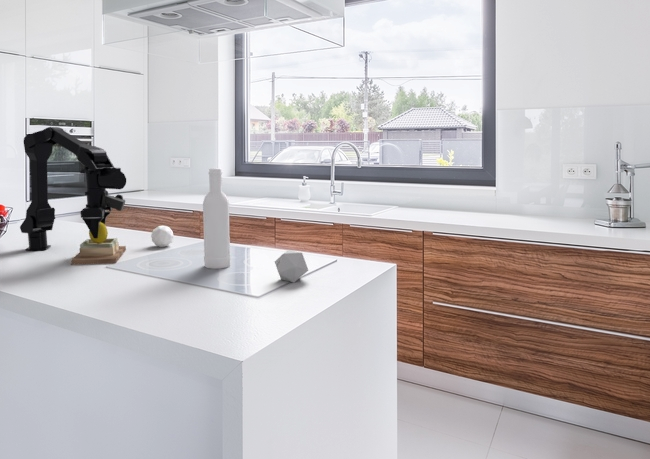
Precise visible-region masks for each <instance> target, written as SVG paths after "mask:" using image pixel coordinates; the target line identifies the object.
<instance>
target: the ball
mask: <svg viewBox="0 0 650 459" xmlns="http://www.w3.org/2000/svg"><path fill="white" fill-rule="evenodd" d="M150 237H151V241H152V243H154V246H156V247H159V248H164V247H167V246H169V245H171V244H172V243H173V242H174V241H173V240H174V232H173V230H172V229H171V228H170V227H169V226H167V225H158V226H157V227H155V228H153V230H152V233H151V236H150Z"/></svg>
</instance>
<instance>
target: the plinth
mask: <svg viewBox="0 0 650 459" xmlns="http://www.w3.org/2000/svg"><path fill="white" fill-rule="evenodd" d="M126 250H127V246H126V245H119V240H118V238H117V237H116V238H107V239H106V240H105V241H104V242H102V243H101V244H97V243H95V242H93V241H92V240H91V239H90V238H87V239H85V240H83V242H81V243H80V245H79V252H78V253H77V254H75V256H74V257H72V258H71V259H70V266H71V265H76V266H77V265H97V264H98V265H101V264H105V265H106V264H117V262H118V261H120V259H121V257H122V256H123V255H124V253H125V252H127V251H126Z"/></svg>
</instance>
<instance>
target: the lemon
mask: <svg viewBox="0 0 650 459" xmlns="http://www.w3.org/2000/svg"><path fill="white" fill-rule="evenodd" d="M88 230H89V229H88ZM88 234H89V236H88V237H89V239H91V240H92V241H93V242H95V243H97V244H101V243H102V242H104V241H105V240H106V239H108V234H109V232H108V228H107V226H106V224H105V225H104V224H103V223H101V222H100V224H99V233H98V238H94V237H93V236H92V234H91V232H90V230H89V231H88Z"/></svg>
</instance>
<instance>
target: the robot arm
mask: <svg viewBox="0 0 650 459" xmlns="http://www.w3.org/2000/svg"><path fill="white" fill-rule="evenodd" d="M23 137H24V138H23V147H24V148H23V149H24V153H25V154H26V156H27V157H28V159H29V161H30V188H31V189H30V196H31V197H30V199H31V202H30V204H29V205H28V207H27V209H26V213H25V218H24V220H23V221H22V223H21V225H20V226H19V229H20V232H21V234H27V238H28V240H27V241H28V247H26V248H25V251H45V250H48V249H50V248H51V247H52V245H51V244H48V234H47V232H48V231H52V230H53V228H54V227H53V226H54V223H55V220H56V216H55V215H56V214H55V212H56V209H55V208H54V207H52V206H51V204H50V203H49V195H48V194H49V192H48V191H49V190H48V189H49V188H48V186H49V185H48V184H49V183H48V181H49V180H48V160H49V159H50V157H51V155H52V154H53V149H54V148H53V147H54V146H56V145H58V146H61V147H62V148H64V149H66V150H67V151H69V152H70V153H72V154H73V155H75V156H76V159H77V161H78V162H79V163H81V165H83V166H84V167H83V168H82V169H81V170H80V171H79V173H80V174H82V175H83V174H84V176H85V189H86V191H85V192H84V195H85V196H86V204H85V207H84V208H82V209H81V210H80V218H82V221H83V222H84V224H85V225H86V227H87V228H88V230H90V232H91V234H92V236H93V237H94V238H98V233H99V224H100V222H101V223H103V224H104V225H105V226H106V221H107V217H108V216H109V215H110V214H111V213H112V211H113V209H114V210H116V211H119V212H122V211H123V209H124V206H125V204H126V200H125V199H124V196H123V195H122V194H116V195H115V196H114V195H109V191H108V190H122V189H124V188H125V186H126V184H127V177H126V175H125V173H124V172H122V168H121V167H115V166H114V164H113V163H112V161H111V159H110V158H109V155H108V154H107V151H106V150H105V149H103V148H102V147H98V146H95V145H90V144H87V143H85V142H84V141H82V140H79V139H78V138H77V137H75V136H73V135H72V134H70V133H69V132H66V130H64V129H63V128H62V127H59V126H58V127H57V126H55V127H54V126H49V127H46V128H44V129H42V130H38V131H35V132H33V133H27V134H26V136H23ZM107 189H108V190H107Z"/></svg>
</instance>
